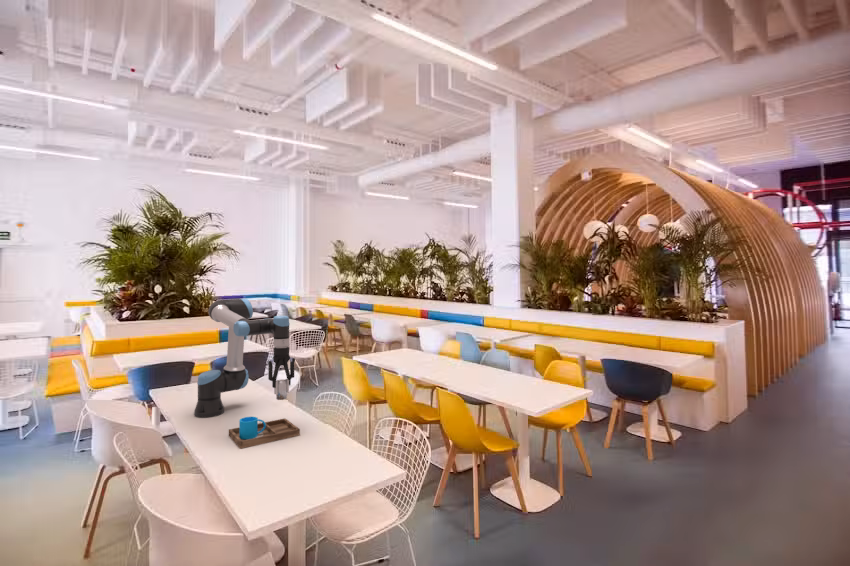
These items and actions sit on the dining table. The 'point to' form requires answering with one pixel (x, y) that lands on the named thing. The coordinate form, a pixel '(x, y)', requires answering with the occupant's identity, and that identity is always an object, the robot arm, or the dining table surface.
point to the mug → (249, 427)
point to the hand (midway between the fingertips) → (281, 393)
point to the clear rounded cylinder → (282, 390)
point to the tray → (267, 433)
